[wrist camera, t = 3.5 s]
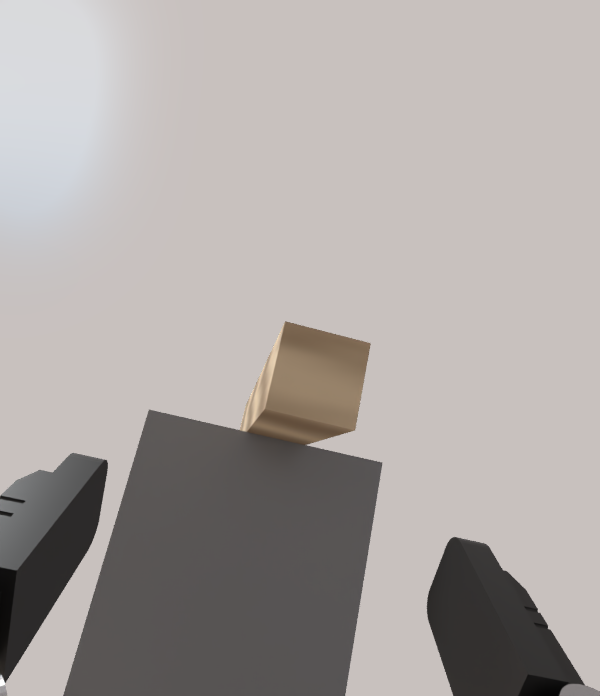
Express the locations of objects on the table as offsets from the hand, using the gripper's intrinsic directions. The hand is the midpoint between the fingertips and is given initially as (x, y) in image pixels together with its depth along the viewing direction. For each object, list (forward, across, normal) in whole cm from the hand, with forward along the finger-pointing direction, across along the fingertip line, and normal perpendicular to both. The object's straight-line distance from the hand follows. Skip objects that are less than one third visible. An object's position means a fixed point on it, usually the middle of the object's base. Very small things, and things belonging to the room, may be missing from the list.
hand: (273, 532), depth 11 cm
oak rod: (+14, 0, +5) cm, 15 cm away
